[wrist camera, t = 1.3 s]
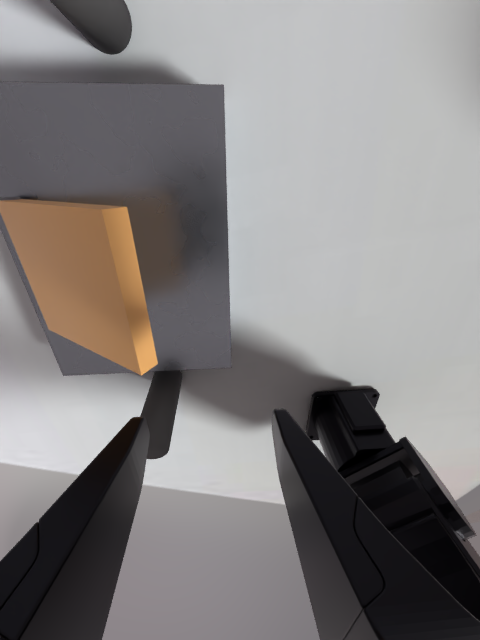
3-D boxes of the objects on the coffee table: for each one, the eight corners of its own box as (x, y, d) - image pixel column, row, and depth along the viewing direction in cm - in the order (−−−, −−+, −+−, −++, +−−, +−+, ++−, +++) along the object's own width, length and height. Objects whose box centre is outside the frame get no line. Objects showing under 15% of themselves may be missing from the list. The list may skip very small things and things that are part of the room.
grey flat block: (229, 344, 22) (231, 367, 19) (80, 351, 21) (61, 375, 19) (222, 101, 14) (223, 84, 12) (-12, 99, 14) (-67, 80, 11)
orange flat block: (14, 196, 13) (-11, 197, 12) (126, 203, 9) (100, 206, 9) (62, 321, 17) (45, 328, 16) (158, 365, 13) (141, 377, 12)
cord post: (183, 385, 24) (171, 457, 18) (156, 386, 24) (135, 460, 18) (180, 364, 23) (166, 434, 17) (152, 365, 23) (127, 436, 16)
